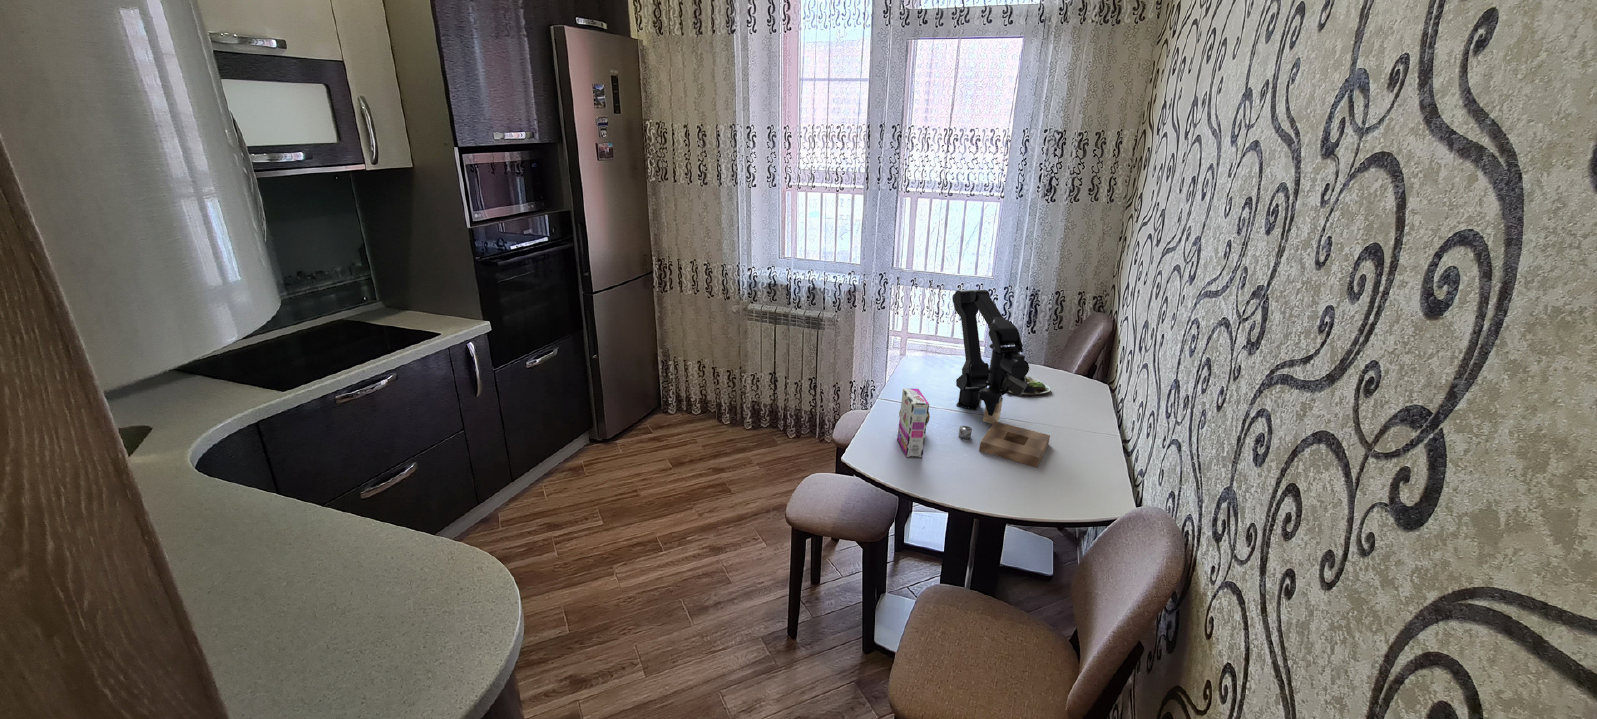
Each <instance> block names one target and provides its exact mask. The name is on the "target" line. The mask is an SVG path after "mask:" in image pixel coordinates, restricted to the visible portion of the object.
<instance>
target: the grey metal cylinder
mask: <svg viewBox="0 0 1597 719" xmlns="http://www.w3.org/2000/svg"><path fill="white" fill-rule="evenodd" d="M972 432H973V428H972V427H971V426H969V425H961V426H959V430H958V436H957V437H958V438H959V439H960V440H962V441H970V440H971V439H972Z"/></svg>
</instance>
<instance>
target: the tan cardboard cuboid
mask: <svg viewBox="0 0 1597 719" xmlns="http://www.w3.org/2000/svg"><path fill="white" fill-rule="evenodd" d="M1003 399H1004V398H1003ZM1003 399H1002V400H1001V401H1000V402H999V404H997V405H996V407H995V410H994V413H993V415H992V416H989V415H988V412H987V409H986V406H985V405H984V406H985V407H984V413H983V419H982V422H984V423H988V424H992V425H993V423H994V422H995V421H996V422H1000V418H1001V411H1002V406H1003Z"/></svg>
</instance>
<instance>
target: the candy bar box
mask: <svg viewBox="0 0 1597 719" xmlns="http://www.w3.org/2000/svg"><path fill="white" fill-rule="evenodd" d="M901 396H902V397H901V402H900V409H901V411H900V410H899V412H900V417H899V420H898V422H899V423H898V429H897V430H898V431H897V441H898V444H899V445H900V447H901V449H902V451H903V454H904V456H905V457H906V458H917V459H918V458H923V456H924V447H925V440H926V433H927V426H928V423H927V418H928V411H930V403H929V401H928V400H927V399H926V397H925V396H924V395H923V393H922V392H921V390H920V389H919V388H902V395H901Z"/></svg>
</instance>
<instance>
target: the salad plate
mask: <svg viewBox="0 0 1597 719" xmlns="http://www.w3.org/2000/svg"><path fill="white" fill-rule="evenodd" d="M1026 382H1028V383H1027V384H1028V385H1027V387H1026V388H1025V390H1024V391H1023V393H1022V394H1021V396H1020V397H1023V398H1035V397H1036V398H1037V397H1044V396H1048V395H1050V393H1051V392H1052V388H1051V387H1050V386H1049V385H1047V384H1045V383H1043V382H1041V380H1039V379H1037V378H1035V377H1032V376H1029V375H1028V376H1027V375H1026ZM1007 393H1008V394H1009V393H1010V394H1011V395H1014V396H1016V395H1015V393H1013V392H1011V391H1010V390H1009V391H1008V392H1007Z"/></svg>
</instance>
